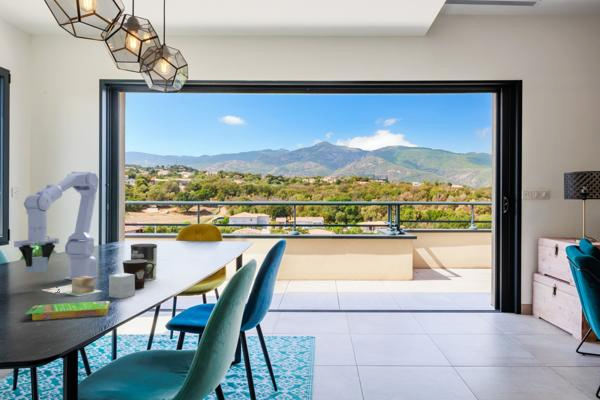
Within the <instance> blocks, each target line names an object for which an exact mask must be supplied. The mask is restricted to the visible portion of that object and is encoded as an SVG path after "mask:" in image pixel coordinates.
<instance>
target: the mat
mask: <svg viewBox="0 0 600 400" xmlns="http://www.w3.org/2000/svg"><path fill="white" fill-rule="evenodd" d="M102 292H104V291H103V290H101V289H100V290H99V289H95V288H94V291H93V292H88V293H83V294H78V293H73V292H72V291H68V292H64V294H66V295H71V296H74V297H82V296H89V295H93V294H97V293H102Z"/></svg>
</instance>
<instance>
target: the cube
mask: <svg viewBox="0 0 600 400" xmlns="http://www.w3.org/2000/svg"><path fill="white" fill-rule="evenodd" d="M48 264H49V261H48V257H42V256H36V257H33V256H32V266H31V267H27V266H26V265H25V273H30V274H32V273H33V274H34V273H43V272H48V271H49V270H48V268H49V267H48V266H49V265H48Z"/></svg>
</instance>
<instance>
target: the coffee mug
mask: <svg viewBox="0 0 600 400" xmlns="http://www.w3.org/2000/svg"><path fill="white" fill-rule="evenodd" d="M148 264H152V266H153V268H152V270H151V272H150V273H148V274H147V275H146V268H147V265H148ZM122 267H123V268H122V269H123V273H127V274H134V275H135V291H137V290H142V289H144V288H145V283H146V281H145V278H146V277H147V276H149V275H150V274H151V273H152V271H153V270H154V264H153V263H150V262H149V263H147V260H141V259H136V260H131V259H126V260H123V261H122Z"/></svg>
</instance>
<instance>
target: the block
mask: <svg viewBox="0 0 600 400" xmlns="http://www.w3.org/2000/svg"><path fill="white" fill-rule="evenodd" d="M71 285H72V292H73V293H78V294H83V293H88V292H93V291H94V289H95V278H94V277H89V276H82V277H76V278H72V280H71Z"/></svg>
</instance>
